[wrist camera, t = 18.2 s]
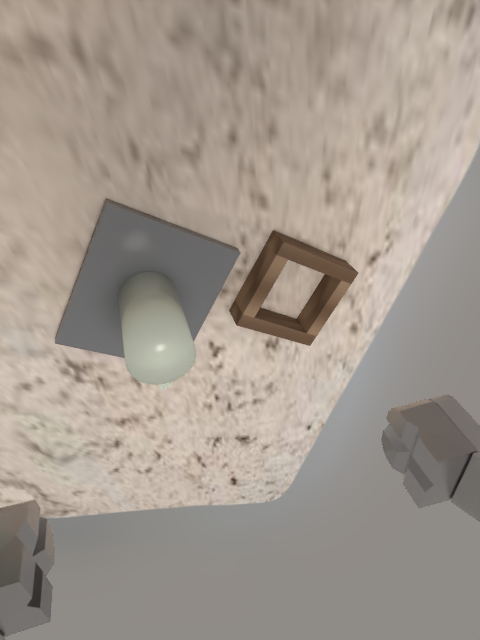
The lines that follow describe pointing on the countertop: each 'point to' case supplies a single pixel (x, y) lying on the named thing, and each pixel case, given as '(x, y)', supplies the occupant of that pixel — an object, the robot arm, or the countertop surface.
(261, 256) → the walnut holder
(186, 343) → the pale green mug
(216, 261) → the charcoal tile
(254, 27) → the countertop surface
